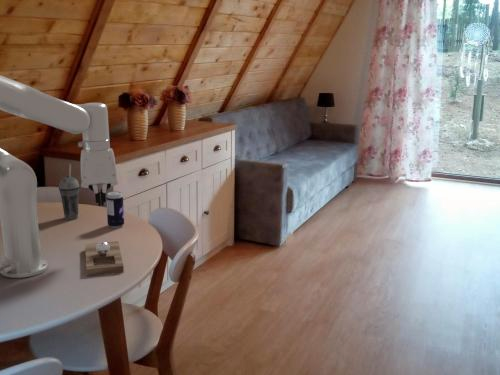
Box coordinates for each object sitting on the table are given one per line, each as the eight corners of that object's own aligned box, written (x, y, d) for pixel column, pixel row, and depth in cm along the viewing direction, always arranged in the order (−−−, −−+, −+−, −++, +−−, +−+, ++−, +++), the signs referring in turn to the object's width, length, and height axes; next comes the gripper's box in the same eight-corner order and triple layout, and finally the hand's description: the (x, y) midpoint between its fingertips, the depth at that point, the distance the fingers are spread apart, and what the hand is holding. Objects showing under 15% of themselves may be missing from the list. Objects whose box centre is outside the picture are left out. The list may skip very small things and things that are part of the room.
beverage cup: (56, 219, 201) (52, 165, 195) (71, 213, 207) (67, 161, 202) (71, 222, 197) (67, 167, 192) (86, 216, 204) (82, 163, 198)
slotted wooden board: (123, 272, 156) (123, 265, 156) (86, 276, 154) (86, 269, 153) (118, 247, 175) (118, 241, 174) (85, 250, 172) (85, 244, 171)
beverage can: (122, 228, 191) (120, 195, 188) (105, 228, 192) (104, 195, 188) (126, 223, 197) (124, 191, 194) (110, 223, 197) (108, 190, 194)
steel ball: (104, 257, 161) (103, 245, 160) (93, 255, 163) (92, 242, 162) (113, 253, 165) (112, 240, 164) (102, 251, 166) (101, 238, 165)
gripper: (70, 149, 157) (75, 210, 162) (123, 146, 161) (127, 206, 166) (70, 144, 164) (75, 203, 169) (121, 141, 168) (125, 199, 173)
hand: (101, 204), depth 167 cm, fingers closed
